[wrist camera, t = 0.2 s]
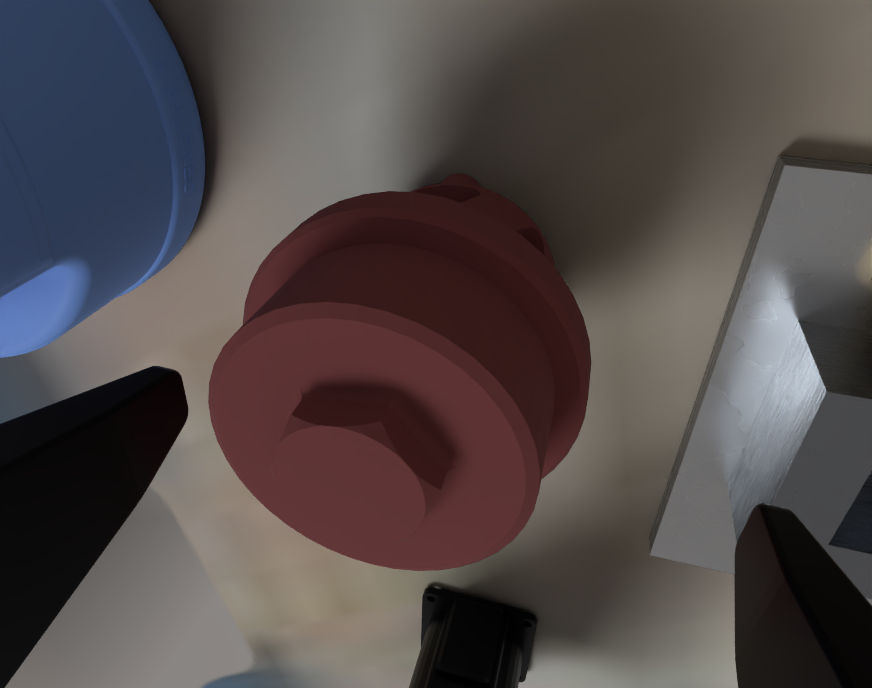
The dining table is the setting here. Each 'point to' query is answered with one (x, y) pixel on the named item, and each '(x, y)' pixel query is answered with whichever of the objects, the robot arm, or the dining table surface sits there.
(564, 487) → the dining table surface
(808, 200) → the square socket plate
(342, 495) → the mechanical component
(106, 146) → the water jug
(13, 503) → the robot arm
